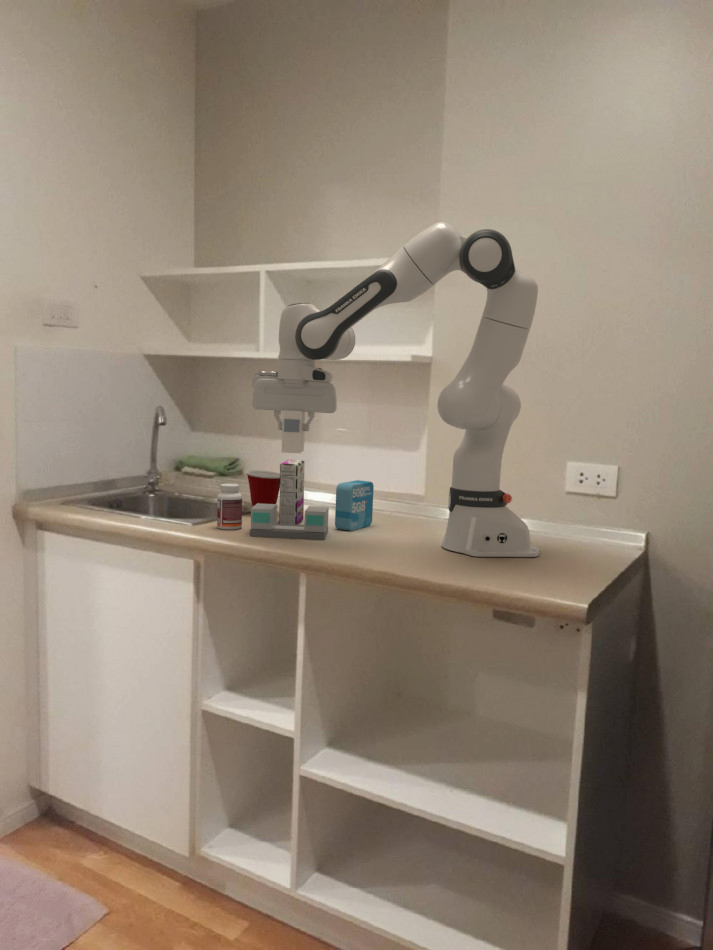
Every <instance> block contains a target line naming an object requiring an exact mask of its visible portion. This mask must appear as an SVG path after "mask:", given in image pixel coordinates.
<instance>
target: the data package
mask: <svg viewBox="0 0 713 950" xmlns="http://www.w3.org/2000/svg"><path fill="white" fill-rule="evenodd" d="M374 487H375V485H374V482H372V481H370V480H369V481H368V480H360V479H357V480H356V479H355V480H351V481H345V482H339V483H338V484H337V486H336V488H335V489H336V491H335V509H334V510H335V514H334V515H335V516H334V525H335V529H337V530H342V531H349V532H352V531H353V532H354V531H358V530H360V529H361V530H362V529H364V528H367V527H370V526H371V525H372V523H373V512H374V509H373V508H374Z"/></svg>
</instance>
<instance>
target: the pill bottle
mask: <svg viewBox="0 0 713 950" xmlns="http://www.w3.org/2000/svg"><path fill="white" fill-rule="evenodd" d="M219 487H220V488H219V489H220V493H218V494H217V499H216V500H217V501H216V502H217V503H216V504H217V505H216V527H217V529H219V530H224V529H225V531H227V530H228V531H229V530H230V531H235V530H240V529H241V528H242V525H243V496H242V494H241V493H240V492H239V491H240V484H238V483H222V484H220V486H219Z"/></svg>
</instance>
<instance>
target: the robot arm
mask: <svg viewBox="0 0 713 950" xmlns="http://www.w3.org/2000/svg"><path fill="white" fill-rule="evenodd" d="M455 271H460V272H462V273H464V274H466V276H467V277H468V278H469V279H470V280H472V281H473V282H475V283H479V284H481V285H482V286H484V288H485V289H486V293H487V294H486V301H485V306H484V308H483V311H482V315H481V318H480V321H479V325H478V328H477V332H476V335H475V337H474V341H473V344H472V347H471V349H470V352H469V354H468V356H467V358H466V360H465V361H464V363H463V365H462V366H461V367H460V369H459V371H458V373H457V374H456V375H455V376H454V378H453V380H452V381H451V382H450V383H449V384H447V385H446V386H445V387H444V388H443V389H442V390H441V392H440V393H439V396H438V399H437V411H438V415H439V416H440V418H441V419H442V421H443V422H444V423H445V424H447V425H449V426H450V427H451V426H452V427H453V428H457V429H460V430H465V432H464V435H463V437H462V441H461V442H460V444H459V446H458V448H457V449H455V451H454V454H453V457H452V458H453V459H452V474H451V475H452V476H451V477H452V478H451V480H452V481H451V486H450V487H449V492H448V500H447V501H448V506H447V508H448V511H449V512H448V518H447V523H446V524H447V525H446V530H445V533H444V536H443V540H442V542H441V547H442V548H444V549H446V550H448V551H453V552H455V553H462V554H465V555H468V556H472V557H479V558H480V557H485V558H487V557H497V558H498V557H501V558H503V557H504V558H506V557H508V558H509V557H510V558H511V557H512V558H514V557H515V558H535V557H538V556H540V549H539V547H538V546H537V545H536V544H534V543H532V542H531V535H530V529H529V526H528V525H527V523H526V522H525V521H524V520H522V519H521V518H520V516H518V515H517V514H516V513H515V512H514V511H513V510H512V509H510V508H509V507H508V506H507V505H508V504H511V502H512V501H513V496H512V495H511V494H509V493H506V492H504V491H503V490H501V489H500V487H501V483H500V482H501V474H502V460H503V454H504V452H505V451H504V450H505V446H506V443H507V439H508V436H509V433H510V431H511V428H512V425H513V424H514V422H515V421H516V419H518V416H519V415H520V412H521V408H522V407H521V406H522V405H521V399H520V396H519V394H518V393H517V392H516V390H514V389H513V387H512V388H511V387H510V386H509V385H506V384H504V382H505V381H506V379H507V377H508V376H509V375H510V373H511V372H512V371H513V370H514V369H515V368H516V367H517V366H519V364H520V361H521V359H522V355H523V352H524V349H525V346H526V343H527V340H528V337H529V334H530V331H531V328H532V324H533V320H534V317H535V314H536V313H535V312H536V307H537V302H538V293H539V292H538V291H539V286H538V283H537V282H536V280H535V279H534V278H533V277H532V276H530V275H529V274H527V273H524V272H521V271H518V270H517V269H516V266H515V261H514V256H513V249H512V247H511V244H510V242H509V240H508V239H507V238H506V236H505V235H504V234H503V233H501V232H499V231H497V230H494V229H489V228H487V229H485V228H484V229H479V230H477V231H475V232H473V233H471V234H470V235H469V236H464V235H463V234H461V233H460V232H459V230H458V229H457V228H456V227H454V226H453V225H452V224H450V223H448V222H445V221H438V222H436V223H434V224H432V225H430V226H428V227H427V228H426V229H423V230H422V231H421V232H419V233H418V234H416V235H415V236H413V237H411V239H409V240H408V241H406V243H405V244H404V245H402V246H401V247H400V248H399V249H398V250H397V251H396V252H394V253H393V254H392V255H391V256H390V257H389V258H388V259H387V260H386V261H385V262H384V263H383V264H382V265H381V266H380V267H378V268H377V269H376V270H375V271H374V272H372V273H371V274H370V275H369V276H368V277H367V278H365V279H364V280H362V281H361V282H360V283H359V284H357V285H356V286H354V287H353V288H352V289H351V290H350V291H348V292H347V293H346V294H345V295H343V296H342V297H340V298H339V299H337V300H336V301H335V302H334V303H333V304H332V305H330V306H329V307H327V308H325V309H322V310H320V309H318V308H317V307H316V306H315V305H314V304H312V303H311V302H310V303H309V302H296V303H293V304H288V305H287V306H285V307H284V308H283V310H282V312H281V314H280V321H279V328H278V344H279V352H278V356H277V371H272V370H271V371H265V370H259V371H258V372H256V373H255V374H253V376H252V380H251V381H252V387H253V394H252V399H251V401H252V403H251V406H252V407H253V408H254V409H255V410H263V411H273V416H274V418H275V420H276V422H277V430H279V431H282V424H283V420H282V419H281V417H280V416H281V415H282V412H283V410H294V411H303V412H305V413H307V417H308V420H307V422H305V423H303V431H305V432H309V431H310V424H311V423H312V421H313V420H314V418H315V413H322V414H334V413H335V412H336V411H337V410H338V409H337V408H338V407H337V405H338V403H337V392H336V387H335V385H334V383H332V381H333V379H334V378H333V377H334V376H333V373H332V372H330V371H328V370H327V371H326V370H324V369H323V368H320V367H316V363H315V361H321V360H326V361H338V360H342V359H345V358H347V357H349V355H350V354H351V353H352V352H353V351H354V349H355V346H356V334H355V331H354V330H353V328H352V327H354V326H355V325H356V324H357V323H359V322H360V321H361V320H363V319H364V318H366V316H368V315H369V314H371V313H372V312H373V311H374V310H377V309H379V308H381V307H384V306H387V305H390V304H399V303H407V302H411V301H413V300H415V299H416V298H418V297H420V296H421V295H423V294H425V293H426V292H427V291H429V290H430V289H431V288H432V287H433V286H435V285H436V284H437V283H438V282H439V281H441V280H442V279H443V278H444V277H446V276H447V275H448V274H450V273H452V272H455Z"/></svg>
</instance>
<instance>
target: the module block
mask: <svg viewBox="0 0 713 950" xmlns="http://www.w3.org/2000/svg"><path fill="white" fill-rule="evenodd" d="M282 422H283V424H282V430H281V432H282V433H281V453H286V454H301V453H303V452H304V451H305V432H306V431H303V423H306V412H303V411H294V410H283V411H282Z"/></svg>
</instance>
